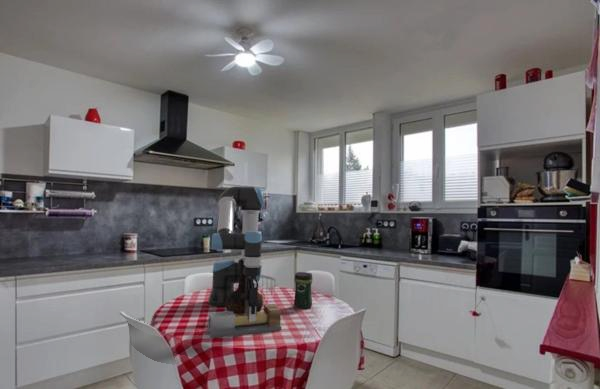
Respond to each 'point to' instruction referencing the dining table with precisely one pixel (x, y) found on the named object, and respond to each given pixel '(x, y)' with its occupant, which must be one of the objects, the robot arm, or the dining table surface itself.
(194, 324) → the dining table surface
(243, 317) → the tan slab
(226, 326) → the steel sleeve
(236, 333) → the base board
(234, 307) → the glass bottle
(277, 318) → the walnut socket
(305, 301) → the coffee jar
